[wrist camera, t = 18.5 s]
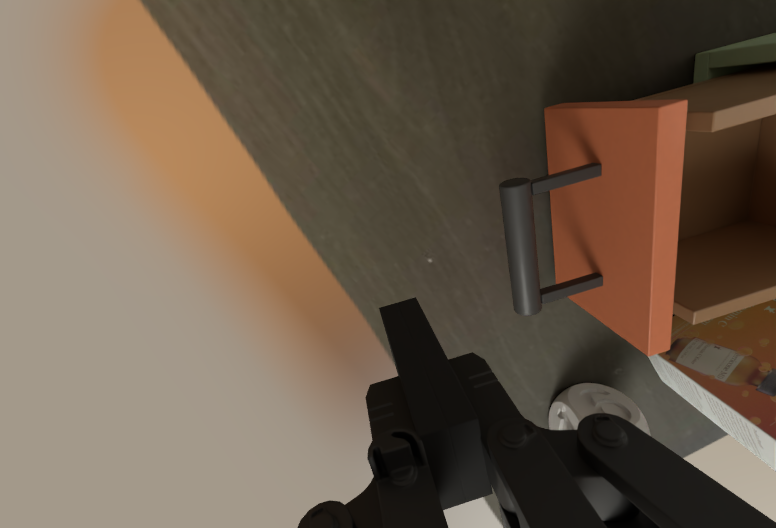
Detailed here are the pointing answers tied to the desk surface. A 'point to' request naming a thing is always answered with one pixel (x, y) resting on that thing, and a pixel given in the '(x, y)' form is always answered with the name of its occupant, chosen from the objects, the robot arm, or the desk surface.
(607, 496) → the robot arm
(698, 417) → the desk surface
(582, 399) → the die
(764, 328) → the small box
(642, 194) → the drawer
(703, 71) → the cabinet
